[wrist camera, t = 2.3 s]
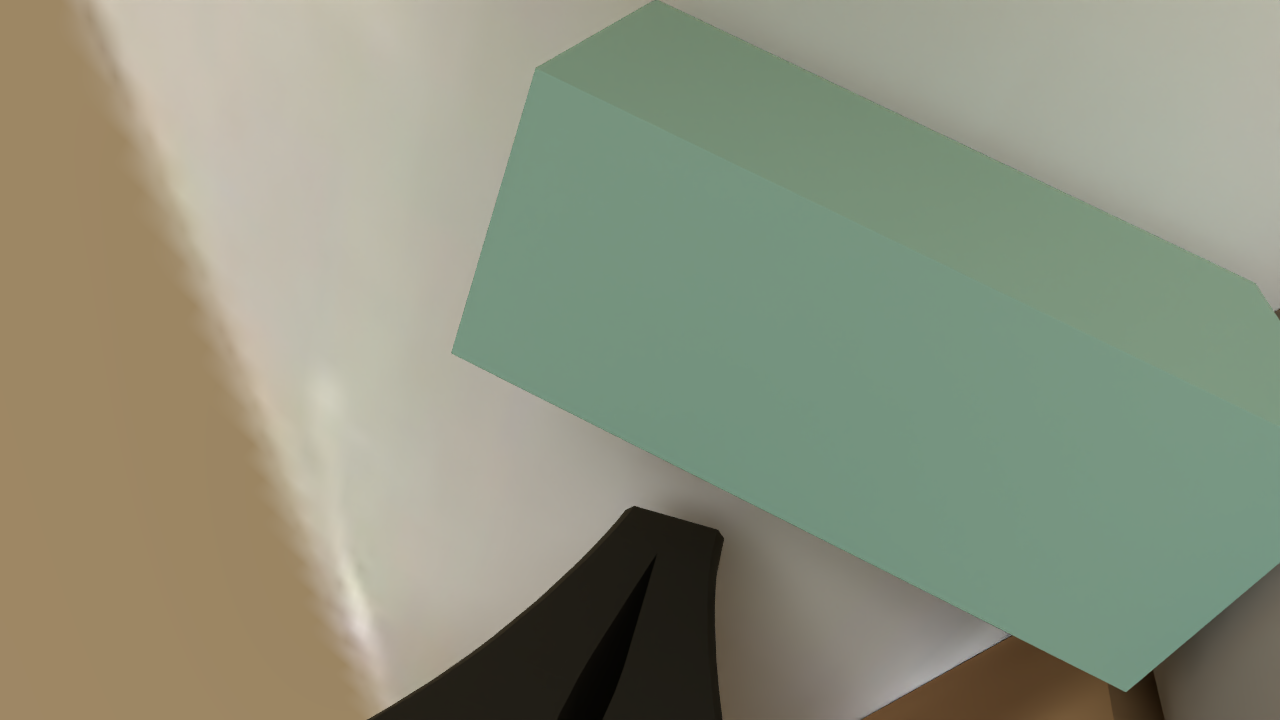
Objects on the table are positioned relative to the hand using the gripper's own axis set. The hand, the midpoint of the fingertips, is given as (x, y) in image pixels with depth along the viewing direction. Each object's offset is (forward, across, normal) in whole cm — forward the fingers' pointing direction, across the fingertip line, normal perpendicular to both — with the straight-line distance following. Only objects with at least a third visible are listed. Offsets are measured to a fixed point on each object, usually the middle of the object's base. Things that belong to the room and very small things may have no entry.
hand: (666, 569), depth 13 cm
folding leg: (+1, -2, -5) cm, 5 cm away
